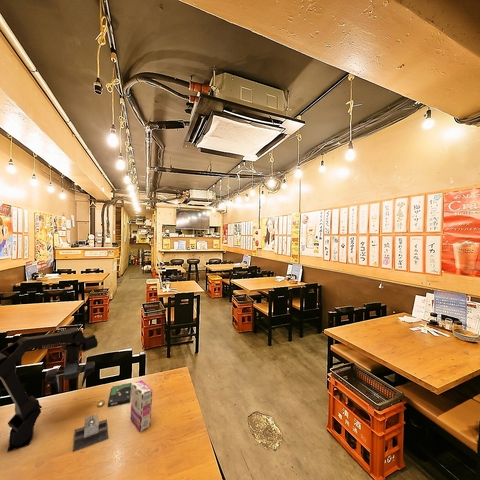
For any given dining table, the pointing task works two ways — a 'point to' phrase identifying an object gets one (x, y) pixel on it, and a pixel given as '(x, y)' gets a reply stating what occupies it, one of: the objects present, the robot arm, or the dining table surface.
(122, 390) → the disk drive
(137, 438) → the dining table surface
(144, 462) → the dining table surface
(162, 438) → the dining table surface
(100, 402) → the brass bushing
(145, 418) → the candy bar box
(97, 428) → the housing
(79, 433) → the stand
